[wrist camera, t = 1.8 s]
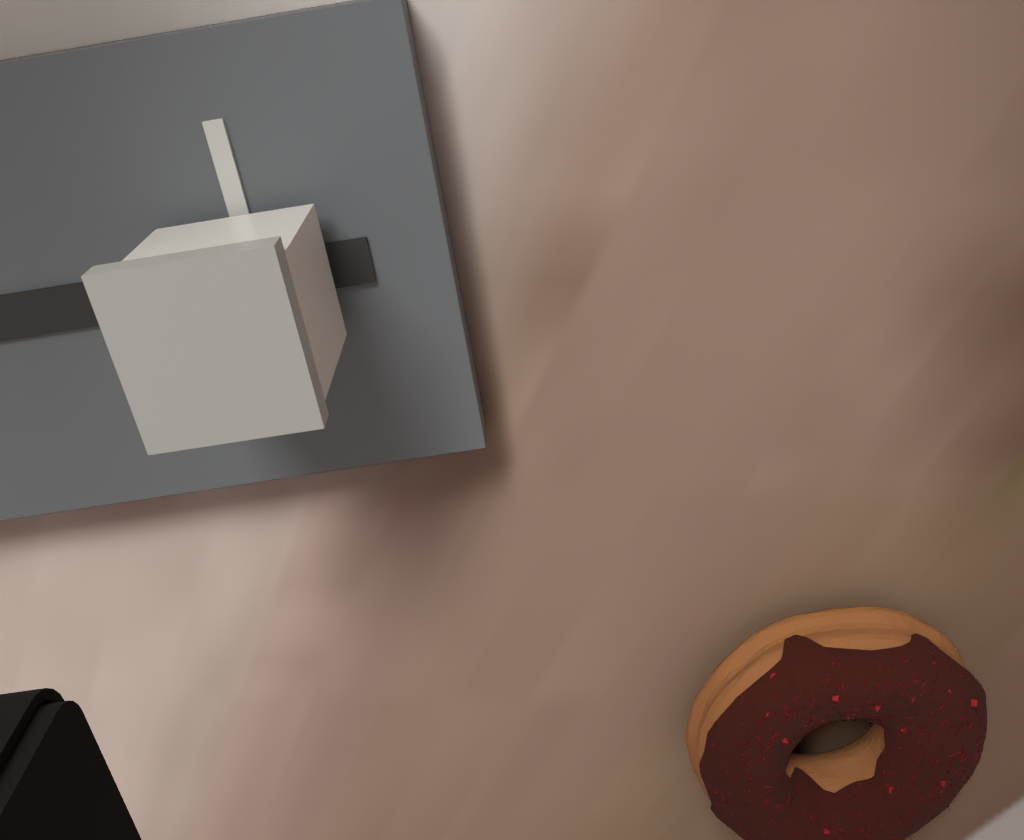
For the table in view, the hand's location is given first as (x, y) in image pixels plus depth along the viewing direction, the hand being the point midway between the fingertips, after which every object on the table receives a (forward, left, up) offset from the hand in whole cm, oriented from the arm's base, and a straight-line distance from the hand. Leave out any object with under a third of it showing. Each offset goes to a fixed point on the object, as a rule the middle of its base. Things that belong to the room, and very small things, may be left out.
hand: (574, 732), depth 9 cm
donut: (-8, +19, -19) cm, 28 cm away
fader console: (+15, 0, -19) cm, 24 cm away
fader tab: (+7, 0, -17) cm, 18 cm away
